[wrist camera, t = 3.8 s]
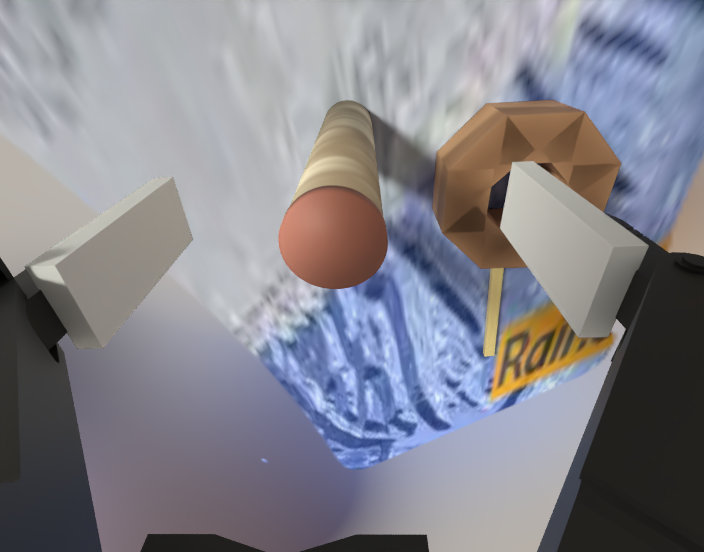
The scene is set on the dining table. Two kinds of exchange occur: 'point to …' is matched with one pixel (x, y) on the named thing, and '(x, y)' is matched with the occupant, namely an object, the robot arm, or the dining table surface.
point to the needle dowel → (337, 205)
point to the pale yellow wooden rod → (492, 310)
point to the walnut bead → (496, 161)
